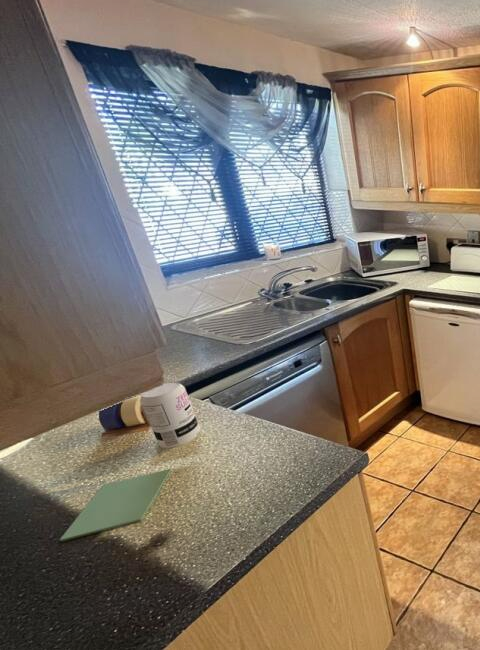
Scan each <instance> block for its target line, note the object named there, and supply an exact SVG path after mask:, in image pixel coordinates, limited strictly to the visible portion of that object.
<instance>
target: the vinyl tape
mask: <svg viewBox="0 0 480 650" xmlns="http://www.w3.org/2000/svg"><path fill="white" fill-rule="evenodd" d="M122 403H123V402H121V403H119V404H116V405H113V406H112V407H109V408H107V409H104V410H102V411H98V420H99V423H100V426H101V427H102V428H103V429H106V430H113V429H118V428H124V427H126V425H125V423H124V422H123V420H122V417H121V405H122Z"/></svg>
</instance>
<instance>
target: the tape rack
mask: <svg viewBox="0 0 480 650" xmlns="http://www.w3.org/2000/svg"><path fill="white" fill-rule="evenodd" d="M142 413H143V415H144V417H145V419H146V422H147V423H144V424H139V425H134V426H128V425H126V424H125V425H126V427H124V428H118V429H113V430H106V429H104V428H103V429H104V432H101V436H100V437H99V438H98V440H99V441H100V440H104V439H108V438H113V437H118V436H124V435H129V434H135V433H139V432H144V431H148V430H149V429H150V428H151V425H150V423H149V421H148V419H147V416H146V414H145V412H144V411H143V412H142Z"/></svg>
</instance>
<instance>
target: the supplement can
mask: <svg viewBox="0 0 480 650" xmlns="http://www.w3.org/2000/svg"><path fill="white" fill-rule="evenodd" d="M163 382H164V384H163V386H161V387H158V388H155V389H153V390H151V391H148V392H145V393H142V392H141V394H140V395H142V396H141V399H140V403H141V405H142V407H143V409H144V412H145V414H146V416H147V419H148V421H149V423H150V425H151V426H150V428H151V430H152V433H153V435H154V437H155V439H156V441H157V444H158V446H159V447H160V448H163V449H170V448H171V449H172V448H176V447H179V446H181V445H182V446H183V445H185V444H187V443H189V442H191V441H192V440H194V439H195V438H196V437H197V436H198V435H199V434H200V433H201V426H200V423H199V421H198V419H197V416H196V413H195V410H194V408H193V405H192V403H191V400H190V398H189V395H188V392H187V389H186V387H185V386H184V385H183V384H181V383H180V382H179V381H175V380H169V381H168V380H167V381H163Z"/></svg>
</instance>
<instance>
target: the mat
mask: <svg viewBox="0 0 480 650" xmlns="http://www.w3.org/2000/svg"><path fill="white" fill-rule="evenodd" d="M171 472H172V469H171V468H169V469H165V470H160V471H155V472H152V473H147V474H143V475H139V476H134V477H129V478H126V479H121V480H116V481H112V482H109V483H104V484H102V485H101V486H100V487H99V489H98V490H97V491H96V493H95V494H94V495H93V496H92V498H91V499H90V500H89V502H88V503H87V504H86V505H85V506H84V508H83V509H82V510H81V512H80V513H79V514H78V515H77V517H76V518H75V519H74V521H73V522H72V523H71V524H70V525H69V527H68V528H67V530H66V531H65V532H64V534H62V536H61V537H60V539H59V542H60V543H62V542H65V541H69V540H73V539H77V538H80V537H84V536H89V535H92V534H96V533H97V534H98V533H100V532H103V531H104V532H105V531H107V530H112V529H116V528H119V527H124V526H127V525H130V524H134V523H135V524H136V523H139V522H142V521H143V519H144V518H145V516H146V515H147V512H148V511H149V508H151V506H152V504H153V502H154V501H155V499H156V497H157V495H158V494H159V492H160V491H161V488H162V487H163V486H164V484H165V482H166V481H167V479H168V477H169V476H170V474H171Z"/></svg>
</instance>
